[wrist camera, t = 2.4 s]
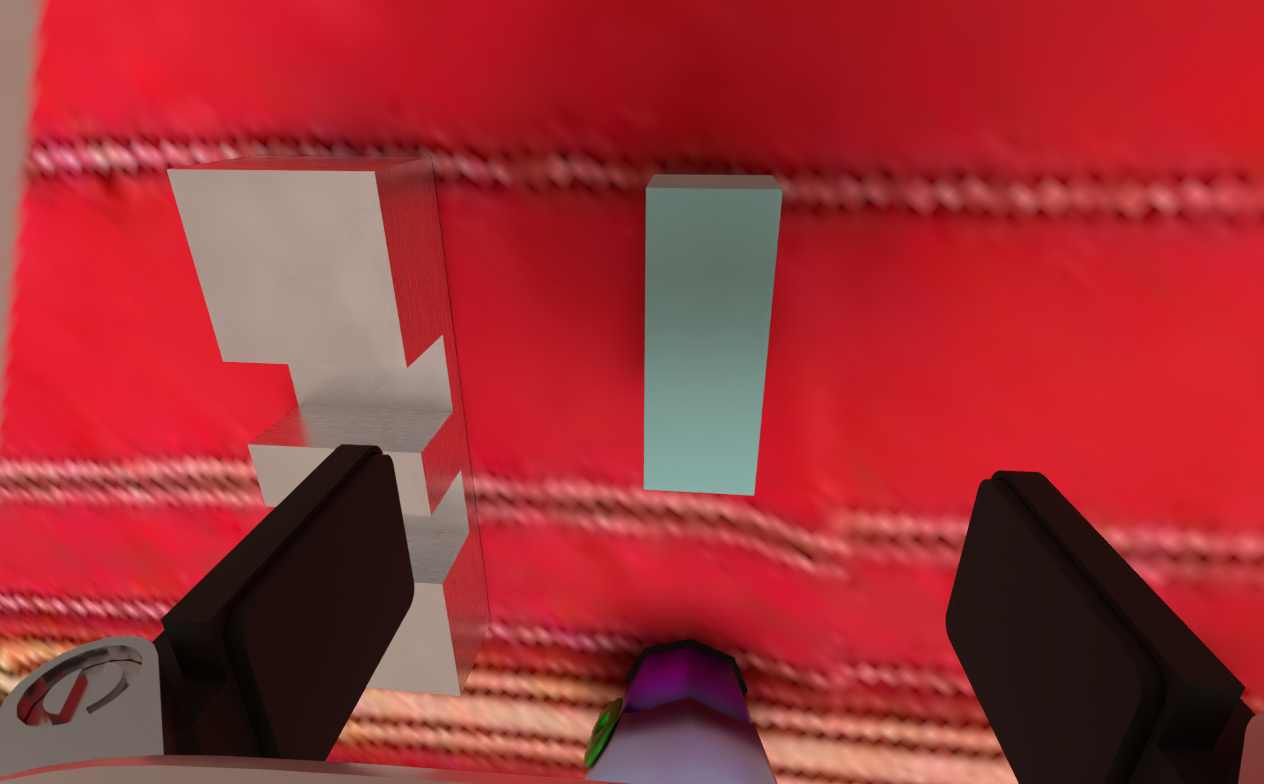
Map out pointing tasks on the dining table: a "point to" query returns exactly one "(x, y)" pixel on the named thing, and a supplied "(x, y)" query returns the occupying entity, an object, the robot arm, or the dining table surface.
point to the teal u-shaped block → (707, 328)
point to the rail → (353, 360)
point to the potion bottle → (679, 723)
